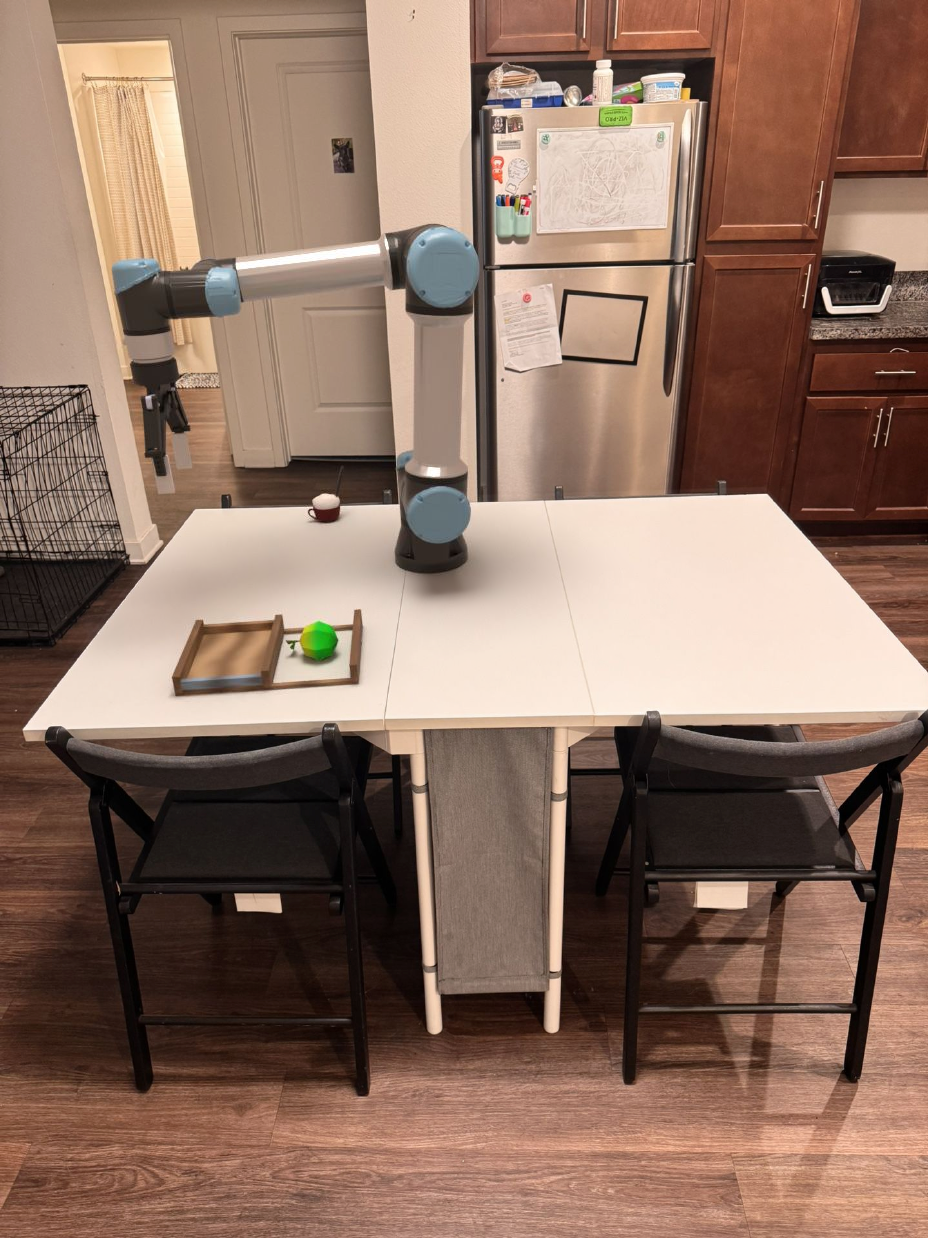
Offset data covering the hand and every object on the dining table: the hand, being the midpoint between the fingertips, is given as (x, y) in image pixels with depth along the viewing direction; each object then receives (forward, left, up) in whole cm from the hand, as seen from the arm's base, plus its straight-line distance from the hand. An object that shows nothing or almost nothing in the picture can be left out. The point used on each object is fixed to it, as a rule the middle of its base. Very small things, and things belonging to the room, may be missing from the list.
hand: (176, 480), depth 164 cm
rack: (-16, +22, -26) cm, 37 cm away
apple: (-23, +21, -26) cm, 41 cm away
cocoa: (-21, -44, -26) cm, 56 cm away
